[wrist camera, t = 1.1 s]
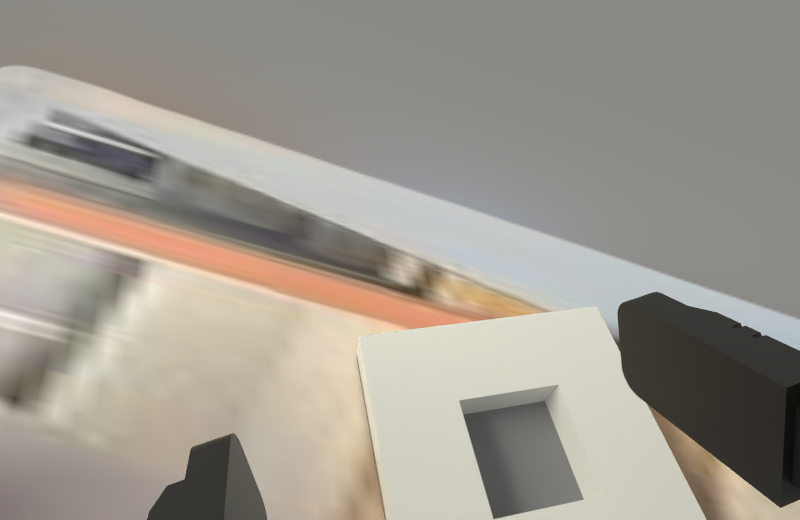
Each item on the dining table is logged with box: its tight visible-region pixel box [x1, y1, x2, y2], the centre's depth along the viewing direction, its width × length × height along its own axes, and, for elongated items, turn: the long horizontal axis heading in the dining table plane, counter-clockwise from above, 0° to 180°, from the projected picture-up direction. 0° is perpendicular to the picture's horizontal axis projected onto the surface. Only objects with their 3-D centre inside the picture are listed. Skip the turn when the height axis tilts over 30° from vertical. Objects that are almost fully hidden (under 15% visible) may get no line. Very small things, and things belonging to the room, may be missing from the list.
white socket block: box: [357, 306, 707, 520], centre depth 33 cm, size 18×18×3 cm
